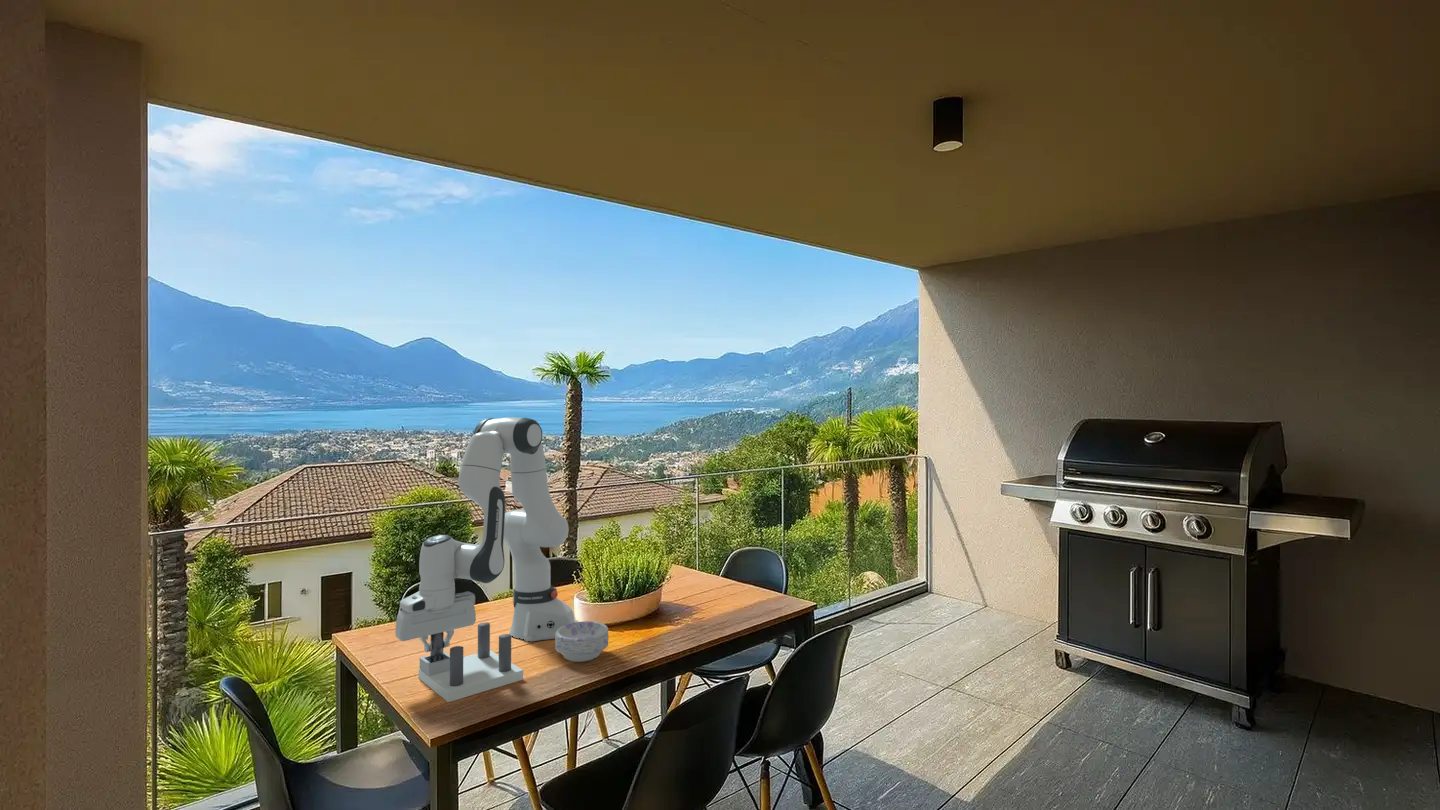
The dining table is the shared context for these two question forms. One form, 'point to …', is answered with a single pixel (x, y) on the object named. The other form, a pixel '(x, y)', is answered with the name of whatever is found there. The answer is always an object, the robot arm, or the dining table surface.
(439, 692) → the stool seat
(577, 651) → the paper bowls
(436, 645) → the stool leg
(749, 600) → the dining table surface
